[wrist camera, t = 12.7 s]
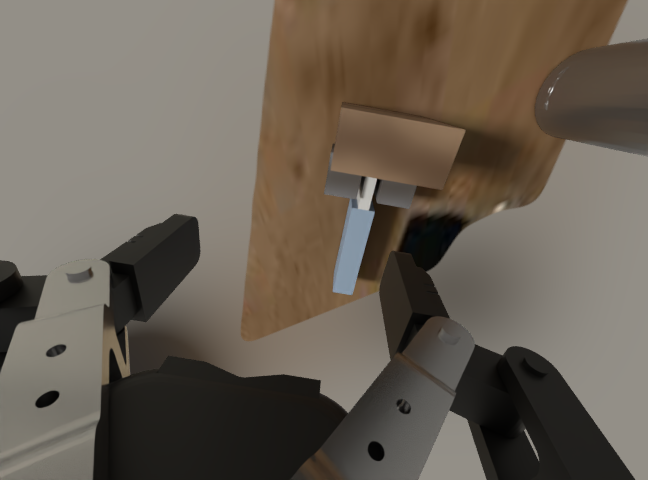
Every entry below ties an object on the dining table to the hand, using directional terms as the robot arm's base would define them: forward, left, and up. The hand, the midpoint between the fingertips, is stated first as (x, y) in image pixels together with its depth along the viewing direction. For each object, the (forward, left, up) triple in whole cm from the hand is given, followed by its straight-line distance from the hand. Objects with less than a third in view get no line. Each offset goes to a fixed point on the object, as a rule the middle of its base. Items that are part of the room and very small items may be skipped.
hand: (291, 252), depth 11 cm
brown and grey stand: (-6, 0, -28) cm, 29 cm away
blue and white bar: (-6, +11, -28) cm, 31 cm away
